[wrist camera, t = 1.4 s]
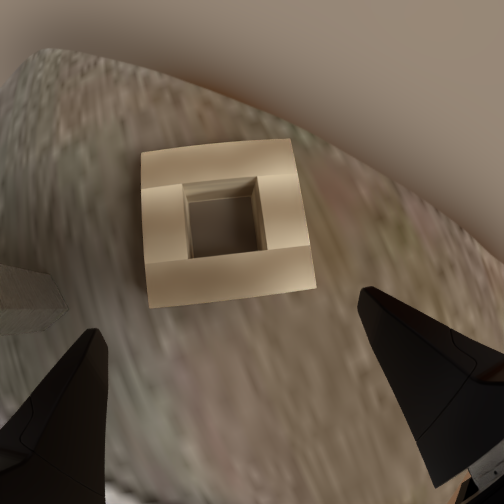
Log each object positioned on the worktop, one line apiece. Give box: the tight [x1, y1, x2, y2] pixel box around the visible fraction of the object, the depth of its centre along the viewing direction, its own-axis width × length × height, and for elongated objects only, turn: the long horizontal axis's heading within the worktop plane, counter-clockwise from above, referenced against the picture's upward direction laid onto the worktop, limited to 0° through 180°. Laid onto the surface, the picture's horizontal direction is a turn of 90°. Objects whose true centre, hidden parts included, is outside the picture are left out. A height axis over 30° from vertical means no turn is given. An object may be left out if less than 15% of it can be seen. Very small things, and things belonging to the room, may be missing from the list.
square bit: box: [0, 264, 69, 336], centre depth 16 cm, size 4×4×13 cm
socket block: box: [141, 139, 317, 309], centre depth 22 cm, size 11×11×4 cm
